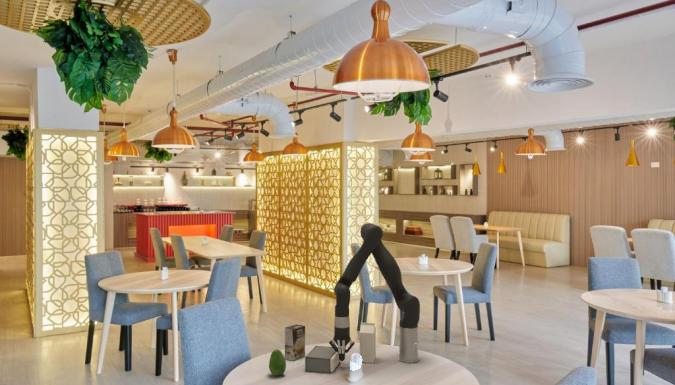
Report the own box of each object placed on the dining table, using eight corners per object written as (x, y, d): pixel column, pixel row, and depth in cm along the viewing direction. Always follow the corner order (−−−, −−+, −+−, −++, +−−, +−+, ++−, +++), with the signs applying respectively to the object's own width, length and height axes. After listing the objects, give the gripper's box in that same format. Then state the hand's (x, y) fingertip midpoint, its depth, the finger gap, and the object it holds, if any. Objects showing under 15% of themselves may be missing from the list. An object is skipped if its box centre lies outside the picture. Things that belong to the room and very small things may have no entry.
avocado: (270, 372, 251) (270, 347, 251) (286, 372, 251) (286, 347, 251) (267, 378, 243) (267, 352, 243) (284, 378, 243) (284, 352, 243)
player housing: (338, 361, 267) (338, 347, 267) (329, 373, 249) (329, 358, 249) (315, 359, 270) (315, 345, 270) (305, 371, 252) (305, 356, 252)
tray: (341, 359, 266) (341, 348, 266) (332, 371, 249) (332, 359, 249) (318, 358, 269) (318, 346, 269) (308, 369, 252) (308, 357, 252)
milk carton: (373, 363, 264) (373, 325, 264) (359, 362, 266) (359, 324, 265) (375, 358, 271) (375, 321, 271) (361, 357, 273) (361, 320, 272)
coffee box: (293, 361, 267) (293, 329, 266) (284, 359, 270) (284, 327, 270) (305, 356, 274) (305, 325, 274) (296, 354, 278) (296, 323, 278)
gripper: (326, 326, 255) (326, 362, 255) (353, 328, 252) (353, 364, 252) (330, 322, 262) (330, 357, 262) (356, 324, 259) (356, 359, 259)
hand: (342, 360), depth 257 cm, fingers closed
